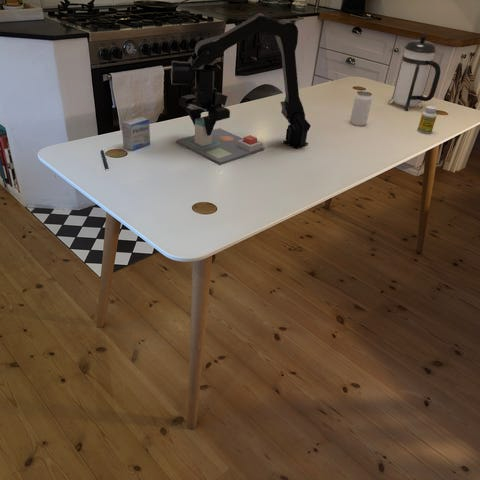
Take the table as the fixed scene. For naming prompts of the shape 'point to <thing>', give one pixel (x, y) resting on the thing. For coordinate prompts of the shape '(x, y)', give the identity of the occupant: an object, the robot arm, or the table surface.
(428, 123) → the supplement bottle
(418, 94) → the coffee press
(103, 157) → the pencil
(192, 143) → the picture board
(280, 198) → the table surface
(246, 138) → the button
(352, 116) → the can
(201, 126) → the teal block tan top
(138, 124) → the medicine box
